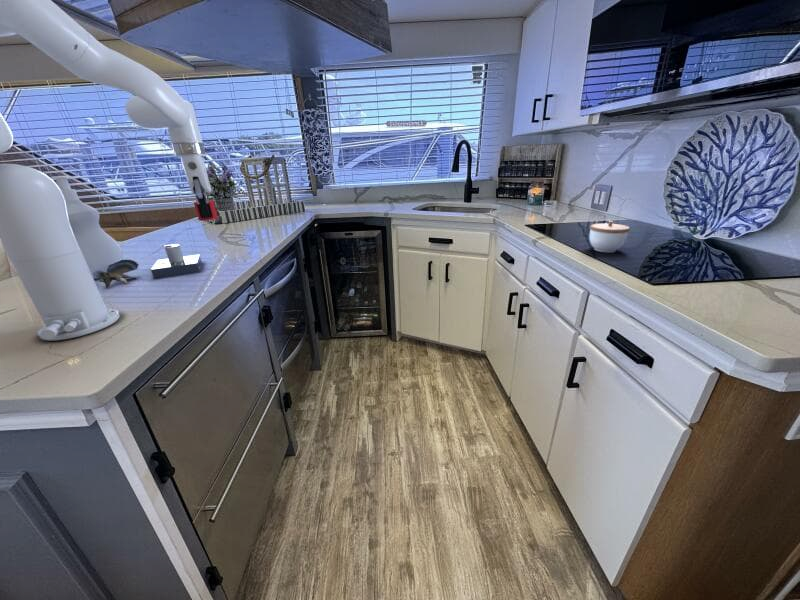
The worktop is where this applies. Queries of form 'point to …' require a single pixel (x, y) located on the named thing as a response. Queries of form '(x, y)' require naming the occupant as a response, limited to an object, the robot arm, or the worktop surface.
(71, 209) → the soap bottle
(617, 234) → the trinket box
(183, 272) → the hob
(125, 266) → the squirrel figurine
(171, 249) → the knob
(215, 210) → the strawberry toy
